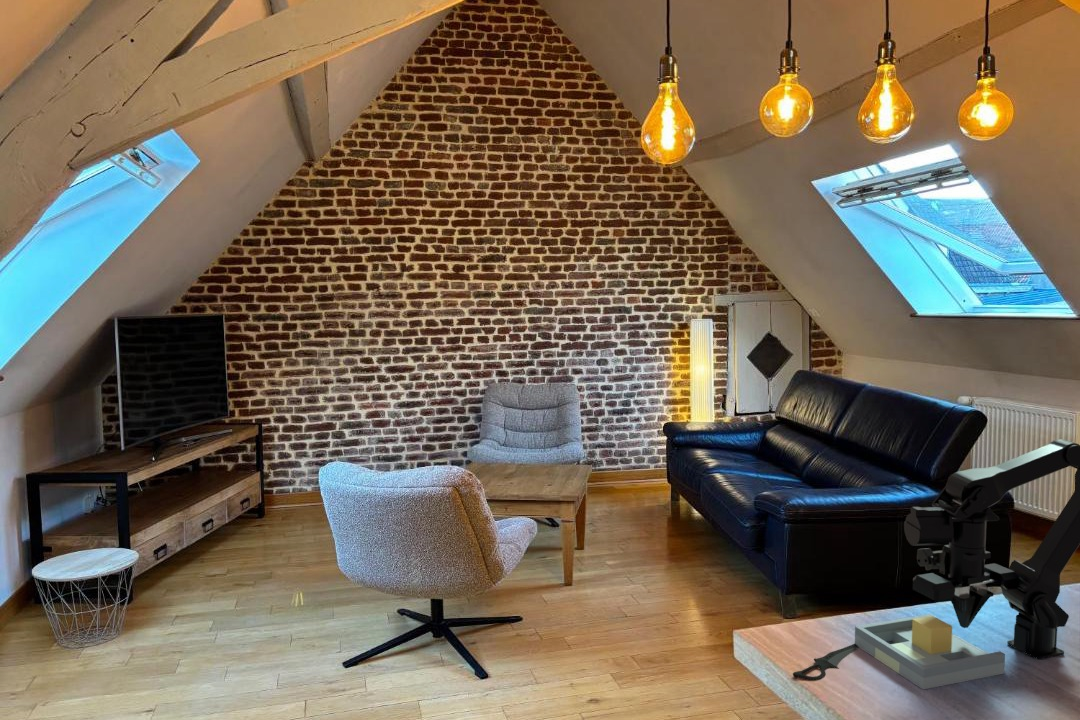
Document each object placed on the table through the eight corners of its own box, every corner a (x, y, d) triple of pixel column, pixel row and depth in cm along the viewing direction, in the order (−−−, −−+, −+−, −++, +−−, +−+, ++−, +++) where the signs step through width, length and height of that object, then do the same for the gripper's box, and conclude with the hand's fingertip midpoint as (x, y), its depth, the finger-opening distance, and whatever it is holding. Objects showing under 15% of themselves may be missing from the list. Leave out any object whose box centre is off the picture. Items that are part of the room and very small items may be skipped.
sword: (809, 687, 132) (810, 682, 132) (787, 675, 135) (788, 670, 135) (891, 642, 148) (892, 637, 148) (870, 633, 151) (871, 628, 151)
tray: (929, 631, 151) (929, 613, 150) (1004, 673, 134) (1005, 653, 134) (854, 644, 146) (855, 626, 146) (923, 689, 130) (923, 669, 129)
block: (932, 639, 143) (932, 615, 143) (951, 650, 139) (952, 626, 138) (911, 643, 142) (912, 619, 141) (930, 654, 138) (931, 629, 137)
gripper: (972, 524, 151) (969, 602, 152) (891, 535, 145) (889, 616, 147) (1022, 543, 140) (1019, 626, 142) (937, 555, 135) (935, 642, 136)
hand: (964, 626), depth 142 cm, fingers closed
